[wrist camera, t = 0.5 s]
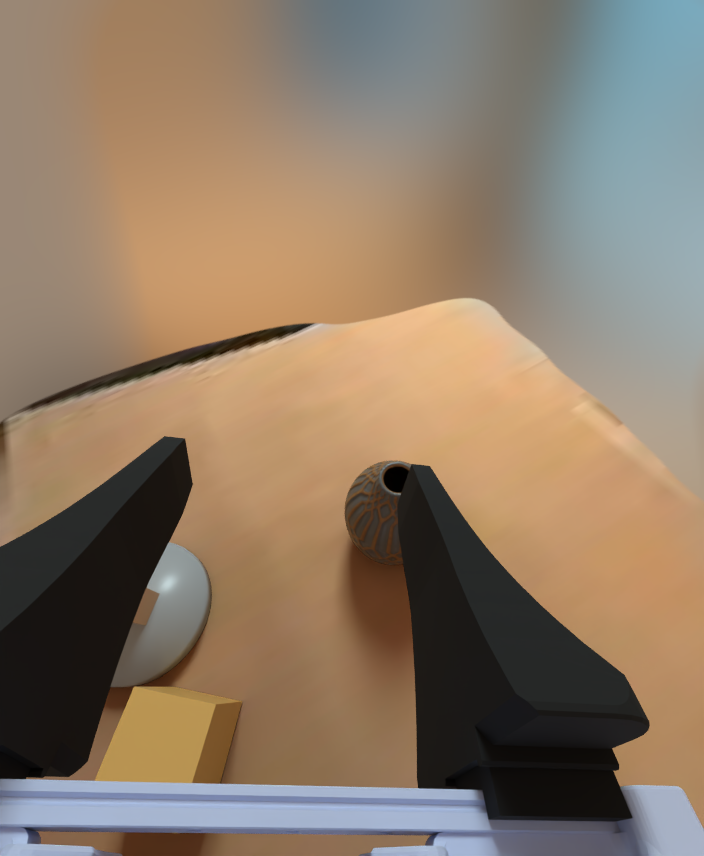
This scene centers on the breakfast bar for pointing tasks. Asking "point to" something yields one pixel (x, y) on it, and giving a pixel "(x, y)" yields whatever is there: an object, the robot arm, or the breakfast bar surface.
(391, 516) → the vase
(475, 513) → the breakfast bar surface
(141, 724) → the mustard yellow cube
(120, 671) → the grey disc
